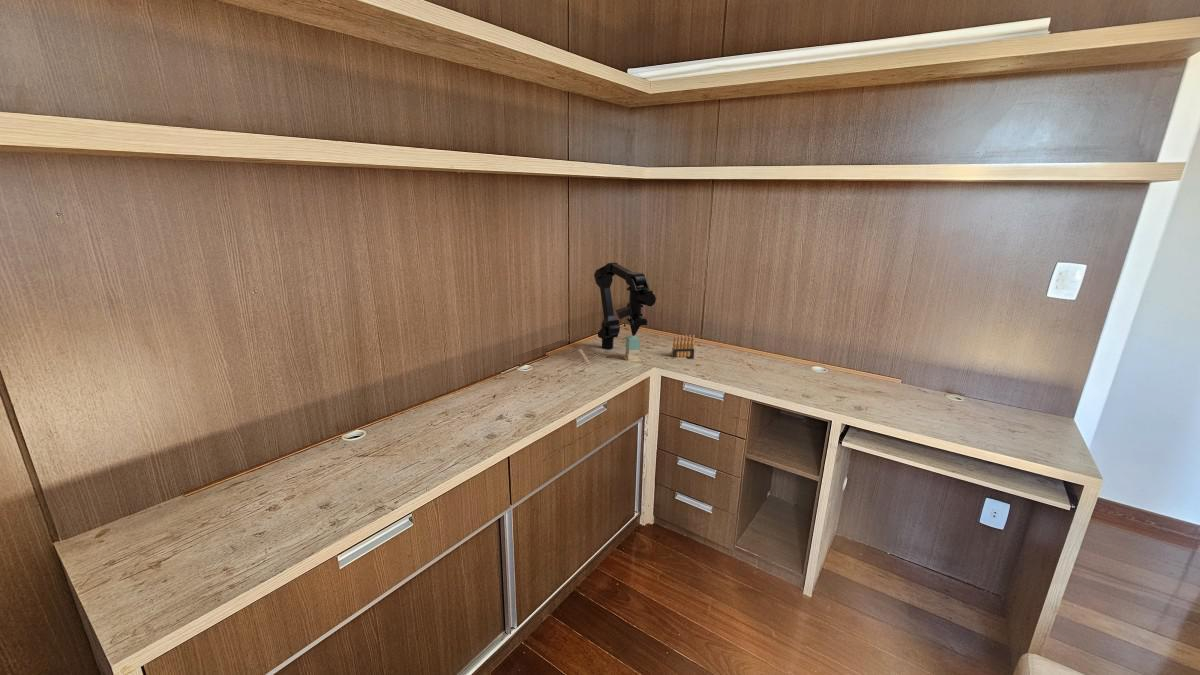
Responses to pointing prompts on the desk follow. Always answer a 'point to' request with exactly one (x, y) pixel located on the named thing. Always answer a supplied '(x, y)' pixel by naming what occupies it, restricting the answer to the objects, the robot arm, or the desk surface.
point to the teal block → (632, 343)
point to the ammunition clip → (683, 347)
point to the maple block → (632, 354)
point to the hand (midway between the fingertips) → (633, 335)
